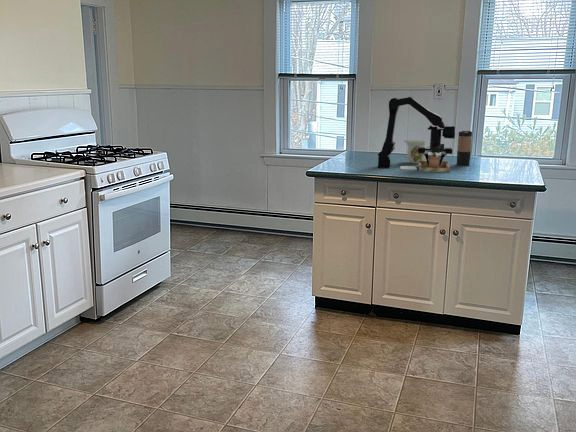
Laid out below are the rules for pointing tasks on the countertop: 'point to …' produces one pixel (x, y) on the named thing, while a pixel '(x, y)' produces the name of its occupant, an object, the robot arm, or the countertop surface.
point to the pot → (434, 161)
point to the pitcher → (415, 150)
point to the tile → (408, 168)
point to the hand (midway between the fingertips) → (433, 165)
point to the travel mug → (464, 148)
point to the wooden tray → (442, 168)
